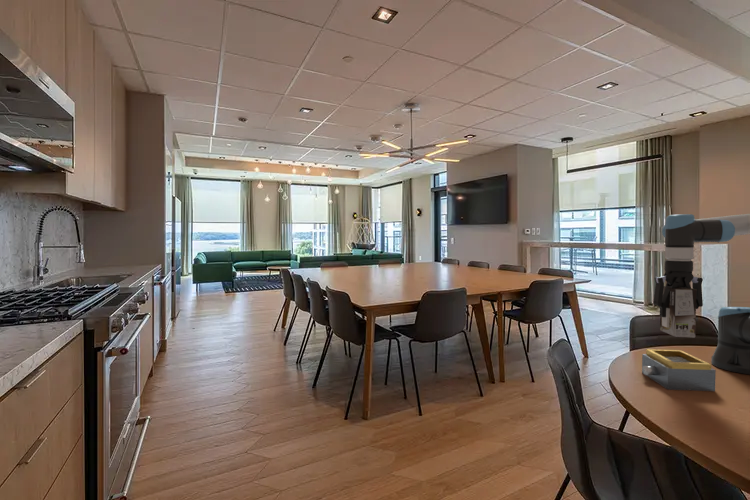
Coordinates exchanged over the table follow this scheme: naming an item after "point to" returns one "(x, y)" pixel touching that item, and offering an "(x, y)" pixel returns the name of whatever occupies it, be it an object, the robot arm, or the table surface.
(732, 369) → the robot arm
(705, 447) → the table surface
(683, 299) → the coffee box
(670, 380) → the grey yellow box
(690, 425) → the table surface
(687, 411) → the table surface
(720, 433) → the table surface
